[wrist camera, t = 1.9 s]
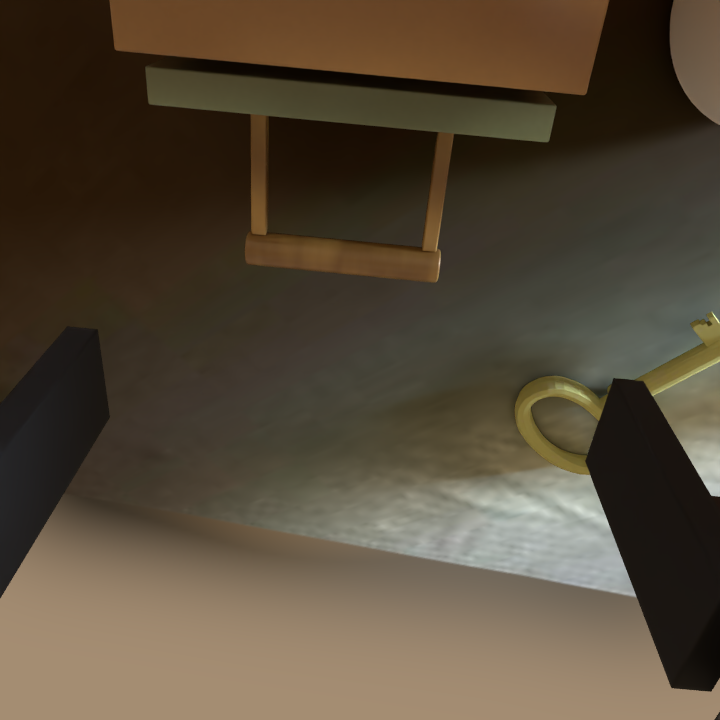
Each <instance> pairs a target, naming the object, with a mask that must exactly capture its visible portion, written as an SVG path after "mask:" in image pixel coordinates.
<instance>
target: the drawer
mask: <svg viewBox="0 0 720 720" xmlns="http://www.w3.org/2000/svg"><path fill="white" fill-rule="evenodd" d="M145 70H146V82H147V94H148V103H149V104H150V105H160V106H171V107H181V108H192V109H202V110H212V111H223V112H233V113H244V114H251V231H249V232H248V234H247V237H246V243H245V260H246V263H247V264H249V265H258V266H269V267H279V268H289V269H299V270H309V271H320V272H330V273H340V274H350V275H361V276H371V277H381V278H391V279H402V280H412V281H422V282H432V283H435V282H437V280H438V276H439V270H440V261H441V252H440V250H439V249H437V245H438V238H439V231H440V225H441V218H442V211H443V205H444V198H445V191H446V185H447V178H448V171H449V165H450V158H451V151H452V145H453V138H454V134H463V135H474V136H484V137H494V138H505V139H515V140H526V141H536V142H548V141H549V139H550V134H551V130H552V125H553V121H554V117H555V112H556V108H557V107H556V105H555V104H554V103H553V102H552V101H551V99H550V98H549V97H548V96H547V95H546V94H545V93H544V92H543V91H535V90H524V89H514V88H503V87H493V86H482V85H472V84H461V83H451V82H440V81H430V80H419V79H409V78H398V77H388V76H377V75H367V74H356V73H346V72H335V71H325V70H314V69H304V68H293V67H283V66H272V65H261V64H251V63H240V62H230V61H219V60H209V59H198V58H188V57H177V56H168V57H166V58H163V59H161V60H159V61H157V62H155V63H152V64H150V65H148V66H146V68H145ZM269 116H275V117H286V118H296V119H306V120H317V121H327V122H338V123H348V124H359V125H369V126H380V127H390V128H400V129H411V130H421V131H432V132H437V137H436V144H435V151H434V159H433V166H432V173H431V181H430V188H429V195H428V203H427V210H426V217H425V225H424V232H423V239H422V247H413V246H403V245H393V244H382V243H372V242H362V241H351V240H341V239H331V238H321V237H310V236H300V235H290V234H279V233H269V232H267V231H268V144H269Z"/></svg>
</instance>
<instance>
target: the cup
mask: <svg viewBox="0 0 720 720" xmlns="http://www.w3.org/2000/svg"><path fill="white" fill-rule="evenodd" d="M670 50H671V57H672V62H673V66H674V69H675V72H676V75H677V78H678V81H679V82H680V84H681V86H682V88H683V90H684V92H685V94H686V95H687V96H688V98H689V99H690V101H691V102H692V103H693V104H694V105H695V106H696V107H697V109H698V110H699V111H700V112H701V113H703V114H704V115H705V116H706V117H708V118H709V119H710V120H712V121H713V122H715V123H717V124H719V125H720V0H673V5H672V10H671V17H670Z"/></svg>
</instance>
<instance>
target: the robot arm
mask: <svg viewBox="0 0 720 720" xmlns="http://www.w3.org/2000/svg"><path fill="white" fill-rule="evenodd" d="M109 418H110V415H109V408H108V401H107V394H106V386H105V379H104V372H103V365H102V357H101V350H100V343H99V336H98V329H87V328H77V327H66V329H65V330H64V331H63V332H62V333H61V334H60V336H59V337H58V338H57V339H56V340H55V341H54V342H53V344H52V345H51V346H50V347H49V348H48V349H47V351H46V352H45V353H44V354H43V355H42V356H41V358H40V359H39V360H38V361H37V362H36V363H35V364H34V366H33V367H32V368H31V369H30V370H29V371H28V373H27V374H26V375H25V376H24V377H23V378H22V380H21V381H20V382H19V383H18V384H17V385H16V386H15V388H14V389H13V390H12V391H11V392H10V393H9V395H8V396H7V397H6V398H5V399H4V400H3V401H2V403H1V404H0V598H1V596H2V595H3V593H4V591H5V590H6V588H7V586H8V585H9V583H10V581H11V580H12V578H13V576H14V575H15V573H16V571H17V570H18V568H19V567H20V565H21V563H22V562H23V560H24V558H25V556H26V555H27V553H28V552H29V550H30V548H31V547H32V545H33V543H34V542H35V540H36V538H37V537H38V535H39V533H40V532H41V530H42V529H43V527H44V525H45V524H46V522H47V520H48V519H49V517H50V515H51V514H52V512H53V510H54V509H55V507H56V505H57V504H58V502H59V500H60V499H61V497H62V495H63V494H64V492H65V490H66V489H67V487H68V486H69V484H70V482H71V481H72V479H73V477H74V476H75V474H76V472H77V471H78V469H79V467H80V466H81V464H82V462H83V461H84V459H85V457H86V456H87V454H88V452H89V451H90V449H91V447H92V446H93V444H94V443H95V441H96V439H97V438H98V436H99V434H100V433H101V431H102V429H103V428H104V426H105V424H106V423H107V421H108V419H109ZM585 462H586V465H587V468H588V470H589V473H590V475H591V478H592V481H593V483H594V486H595V489H596V491H597V494H598V496H599V499H600V502H601V504H602V507H603V510H604V512H605V515H606V517H607V520H608V523H609V525H610V528H611V531H612V533H613V536H614V538H615V541H616V544H617V546H618V549H619V552H620V554H621V557H622V559H623V562H624V565H625V567H626V570H627V573H628V575H629V578H630V580H631V583H632V586H633V588H634V591H635V594H636V596H637V599H638V601H639V604H640V607H641V609H642V612H643V614H644V617H645V620H646V622H647V625H648V628H649V630H650V633H651V636H652V638H653V641H654V643H655V646H656V649H657V651H658V654H659V657H660V659H661V662H662V664H663V667H664V670H665V672H666V675H667V677H668V680H669V683H670V685H671V687H672V688H677V689H689V690H699V691H712V689H713V688H714V686H715V685H716V683H717V681H718V680H719V678H720V497H716V496H711V495H710V493H709V491H708V490H707V488H706V486H705V485H704V483H703V481H702V480H701V478H700V476H699V474H698V473H697V471H696V469H695V468H694V466H693V464H692V463H691V461H690V459H689V457H688V456H687V454H686V452H685V451H684V449H683V447H682V446H681V444H680V442H679V440H678V439H677V437H676V435H675V434H674V432H673V430H672V429H671V427H670V425H669V423H668V422H667V420H666V418H665V417H664V415H663V413H662V412H661V410H660V408H659V406H658V405H657V403H656V401H655V400H654V398H653V396H652V395H651V393H650V391H649V389H648V388H647V386H646V384H645V383H644V381H638V380H628V379H617V378H614V379H613V382H612V385H611V387H610V390H609V393H608V396H607V399H606V402H605V405H604V408H603V411H602V414H601V417H600V420H599V422H598V425H597V428H596V431H595V434H594V437H593V440H592V443H591V446H590V449H589V452H588V455H587V457H586V460H585ZM715 720H720V712H719V714H718V715H717V717H716V718H715Z"/></svg>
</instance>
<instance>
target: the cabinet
mask: <svg viewBox="0 0 720 720" xmlns="http://www.w3.org/2000/svg"><path fill="white" fill-rule="evenodd" d="M608 3H609V0H110V9H111V19H112V28H113V38H114V47H115V50H117V51H125V52H135V53H146V54H156V55H167V56H177V57H188V58H198V59H209V60H219V61H230V62H240V63H251V64H261V65H272V66H283V67H293V68H304V69H314V70H325V71H335V72H346V73H356V74H367V75H377V76H388V77H398V78H409V79H419V80H430V81H440V82H451V83H461V84H472V85H482V86H493V87H503V88H514V89H524V90H535V91H545V92H556V93H566V94H577V95H585V94H586V93H587V89H588V85H589V81H590V77H591V73H592V69H593V65H594V61H595V56H596V52H597V48H598V44H599V40H600V36H601V32H602V28H603V24H604V20H605V16H606V11H607V7H608Z"/></svg>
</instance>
